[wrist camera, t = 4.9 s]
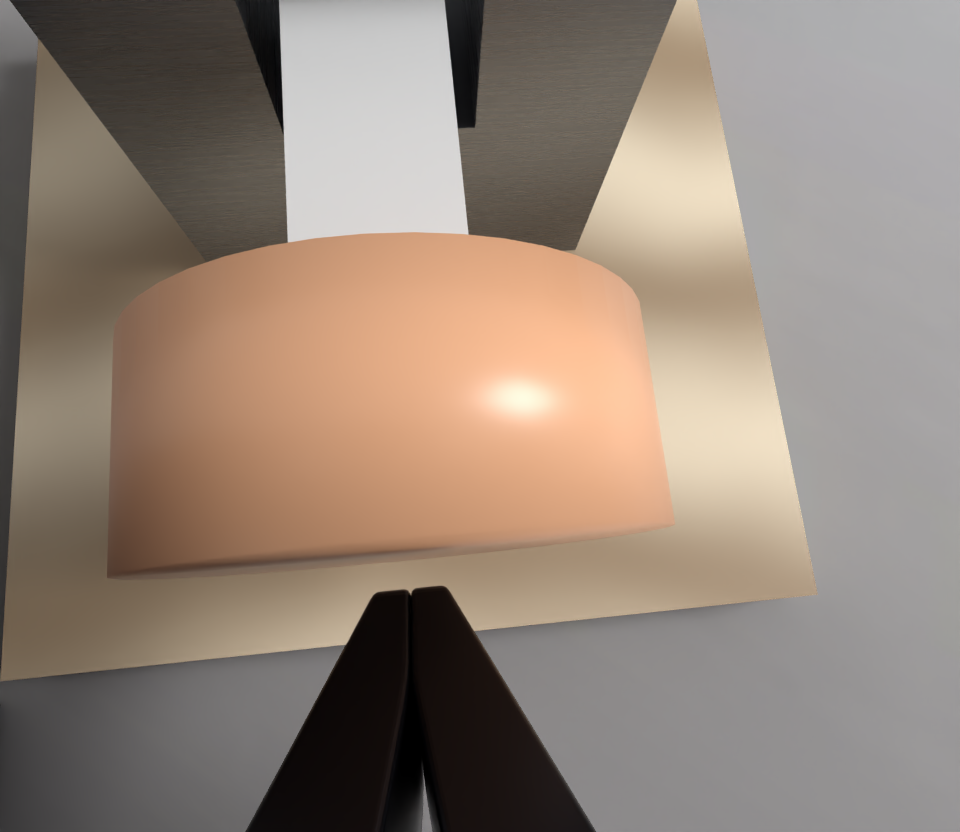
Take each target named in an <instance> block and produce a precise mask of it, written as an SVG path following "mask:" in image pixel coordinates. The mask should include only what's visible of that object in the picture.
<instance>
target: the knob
mask: <svg viewBox="0 0 960 832" xmlns="http://www.w3.org/2000/svg"><path fill="white" fill-rule="evenodd" d="M279 11H280V39H281V66H282V94H283V122H284V150H285V177H286V205H287V233H288V243H282V244H276V245H270V246H265V247H261V248H257V249H253V250H249V251H244V252H240V253H236V254H232V255H228V256H224V257H221V258H218V259H215V260H212V261H209V262H206V263H203V264H200V265H197V266H194V267H191V268H188V269H186V270H184V271H182V272H180V273H178V274H175V275H173V276H171V277H169V278H167V279H165V280H162V281H160V282H158V283H157V284H155V285H154V286H152V287H151V288H149V289H148V290H146V291H145V292H143V293H141V294H140V295H138V296H137V297H136V298H135V299H134V300H133V301H132V302H131V303H130V304H129V305H128V306H127V307H126V308H125V309H124V310H123V311H122V312H121V314H120V316H119V318H118V320H117V322H116V323H115V325H114V335H113V362H112V399H111V437H110V474H109V512H108V549H107V578H109V579H118V580H146V579H174V578H193V577H210V576H226V575H241V574H255V573H269V572H282V571H295V570H307V569H319V568H331V567H343V566H354V565H365V564H376V563H387V562H398V561H408V560H418V559H428V558H438V557H448V556H458V555H467V554H477V553H486V552H495V551H504V550H513V549H522V548H531V547H539V546H547V545H556V544H564V543H571V542H579V541H587V540H594V539H602V538H609V537H616V536H622V535H629V534H635V533H641V532H647V531H652V530H657V529H662V528H666V527H670V526H673V525H675V520H674V513H673V507H672V501H671V495H670V488H669V482H668V476H667V470H666V464H665V457H664V451H663V445H662V439H661V433H660V426H659V420H658V414H657V408H656V401H655V395H654V389H653V383H652V377H651V370H650V364H649V358H648V352H647V346H646V339H645V333H644V327H643V321H642V314H641V308H640V302H639V300H638V298H637V296H636V294H635V293H634V291H633V289H632V288H631V287H630V286H629V285H628V284H627V283H626V282H625V281H624V280H623V279H621V278H620V277H619V276H617V275H616V274H614V273H612V272H611V271H609V270H608V269H606V268H604V267H603V266H601V265H599V264H596V263H594V262H592V261H589V260H587V259H584V258H582V257H580V256H577V255H574V254H571V253H567V252H564V251H560V250H557V249H553V248H550V247H546V246H542V245H537V244H532V243H526V242H521V241H516V240H510V239H505V238H496V237H486V236H477V235H468V225H467V215H466V205H465V195H464V186H463V176H462V166H461V156H460V147H459V137H458V127H457V117H456V107H455V98H454V88H453V78H452V68H451V59H450V49H449V39H448V29H447V19H446V10H445V0H279Z"/></svg>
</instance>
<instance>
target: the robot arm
mask: <svg viewBox="0 0 960 832" xmlns="http://www.w3.org/2000/svg"><path fill="white" fill-rule="evenodd" d="M423 771H424V779H425V786H426V793H427V800H428V807H429V814H430V819H431V825H432V831H433V832H596V831H595V829H594V827H593V826H592V824H591V822H590V821H589V819H588V818H587V816H586V814H585V813H584V811H583V809H582V808H581V806H580V804H579V803H578V801H577V799H576V798H575V796H574V795H573V793H572V791H571V790H570V788H569V786H568V785H567V783H566V781H565V780H564V778H563V776H562V775H561V773H560V772H559V770H558V768H557V767H556V765H555V763H554V762H553V760H552V758H551V757H550V755H549V753H548V752H547V750H546V748H545V747H544V745H543V744H542V742H541V740H540V739H539V737H538V735H537V734H536V732H535V730H534V729H533V727H532V725H531V724H530V722H529V721H528V719H527V717H526V716H525V714H524V712H523V711H522V709H521V707H520V706H519V704H518V702H517V701H516V699H515V698H514V696H513V694H512V693H511V691H510V689H509V688H508V686H507V684H506V683H505V681H504V679H503V678H502V676H501V674H500V673H499V671H498V670H497V668H496V666H495V665H494V663H493V661H492V660H491V658H490V656H489V655H488V653H487V651H486V650H485V648H484V647H483V645H482V643H481V642H480V640H479V638H478V637H477V635H476V633H475V632H474V630H473V628H472V627H471V625H470V623H469V622H468V620H467V619H466V617H465V615H464V614H463V612H462V610H461V609H460V607H459V605H458V604H457V602H456V600H455V599H454V597H453V596H452V594H451V592H450V591H449V589H448V588H447V587H445V586H431V587H421V588H415V589H414V590H412V592H411V594H410V593H409V591H408V590H406V589H401V590H391V591H381V592H377V593H375V594H374V595H373V596H372V598H371V599H370V601H369V603H368V605H367V606H366V608H365V610H364V612H363V614H362V616H361V618H360V619H359V621H358V623H357V625H356V627H355V629H354V631H353V633H352V634H351V636H350V638H349V640H348V642H347V644H346V646H345V647H344V649H343V651H342V653H341V655H340V657H339V659H338V660H337V662H336V664H335V666H334V668H333V670H332V672H331V674H330V675H329V677H328V679H327V681H326V683H325V685H324V687H323V688H322V690H321V692H320V694H319V696H318V698H317V700H316V701H315V703H314V705H313V707H312V709H311V711H310V713H309V715H308V716H307V718H306V720H305V722H304V724H303V726H302V728H301V729H300V731H299V733H298V735H297V737H296V739H295V741H294V742H293V744H292V746H291V748H290V750H289V752H288V754H287V755H286V757H285V759H284V761H283V763H282V765H281V767H280V769H279V770H278V772H277V774H276V776H275V778H274V780H273V782H272V783H271V785H270V787H269V789H268V791H267V793H266V795H265V796H264V798H263V800H262V802H261V804H260V806H259V808H258V810H257V811H256V813H255V815H254V817H253V819H252V821H251V823H250V824H249V826H248V828H247V830H246V832H422V815H423V791H424V780H423Z"/></svg>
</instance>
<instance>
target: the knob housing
mask: <svg viewBox="0 0 960 832" xmlns="http://www.w3.org/2000/svg"><path fill="white" fill-rule="evenodd" d="M10 1H11V2H12V4H13V5H14V6H15V8H16V9H17V10H18V12H19V13H20V14H21V16H22V17H23V18H24V20H25V21H26V22H27V24H28V25H29V26H30V28H31V29H32V30H33V32H34V33H35V34H36V36H37V37H38V38H39V40H40V41H41V42H42V44H43V45H44V46H45V48H46V49H47V50H48V52H49V53H50V54H51V56H52V57H53V58H54V60H55V61H56V62H57V64H58V65H59V66H60V68H61V69H62V70H63V72H64V73H65V74H66V76H67V77H68V78H69V80H70V81H71V82H72V84H73V85H74V86H75V88H76V89H77V90H78V92H79V93H80V94H81V96H82V97H83V98H84V100H85V101H86V102H87V104H88V105H89V106H90V108H91V109H92V110H93V112H94V113H95V114H96V116H97V117H98V118H99V120H100V121H101V122H102V124H103V125H104V126H105V128H106V129H107V130H108V132H109V133H110V134H111V136H112V137H113V138H114V139H115V141H116V142H117V143H118V145H119V146H120V147H121V149H122V150H123V151H124V153H125V154H126V155H127V157H128V158H129V159H130V161H131V162H132V163H133V165H134V166H135V167H136V169H137V170H138V171H139V173H140V174H141V175H142V177H143V178H144V179H145V181H146V182H147V183H148V185H149V186H150V187H151V189H152V190H153V191H154V193H155V194H156V195H157V197H158V198H159V199H160V201H161V202H162V203H163V205H164V206H165V207H166V209H167V210H168V211H169V213H170V214H171V215H172V217H173V218H174V219H175V221H176V222H177V223H178V225H179V226H180V227H181V229H182V230H183V231H184V233H185V234H186V235H187V237H188V238H189V239H190V241H191V242H192V243H193V245H194V246H195V247H196V249H197V250H198V251H199V253H200V254H201V255H202V257H203V258H204V259H205V261H206V262H209V261H212V260H215V259H218V258H221V257H224V256H228V255H232V254H236V253H240V252H244V251H249V250H253V249H257V248H261V247H265V246H270V245H276V244H282V243H288V233H287V205H286V177H285V150H284V122H283V94H282V66H281V39H280V11H279V0H10ZM676 1H677V0H445V10H446V19H447V29H448V39H449V49H450V59H451V68H452V78H453V88H454V98H455V107H456V117H457V127H458V137H459V147H460V156H461V166H462V176H463V186H464V195H465V205H466V215H467V225H468V235H477V236H486V237H496V238H505V239H510V240H516V241H521V242H526V243H532V244H537V245H542V246H546V247H550V248H553V249H557V250H560V251H566V250H576V247H577V245H578V242H579V240H580V238H581V235H582V233H583V230H584V228H585V225H586V223H587V220H588V218H589V215H590V213H591V210H592V208H593V206H594V203H595V201H596V198H597V196H598V193H599V191H600V188H601V186H602V183H603V181H604V179H605V176H606V174H607V171H608V169H609V166H610V164H611V161H612V159H613V156H614V154H615V151H616V149H617V147H618V144H619V142H620V139H621V137H622V134H623V132H624V129H625V127H626V124H627V122H628V120H629V117H630V115H631V112H632V110H633V107H634V105H635V102H636V100H637V97H638V95H639V92H640V90H641V88H642V85H643V83H644V80H645V78H646V75H647V73H648V70H649V68H650V65H651V63H652V60H653V58H654V56H655V53H656V51H657V48H658V46H659V43H660V41H661V38H662V36H663V33H664V31H665V29H666V26H667V24H668V21H669V19H670V16H671V14H672V11H673V9H674V6H675V4H676Z"/></svg>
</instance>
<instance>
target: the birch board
mask: <svg viewBox="0 0 960 832" xmlns="http://www.w3.org/2000/svg"><path fill="white" fill-rule="evenodd" d="M564 252H567V253H571V254H574V255H577V256H580V257H582V258H584V259H587V260H589V261H592V262H594V263H596V264H599V265H601V266H603V267H604V268H606V269H608V270H609V271H611V272H612V273H614V274H616V275H617V276H619V277H620V278H621V279H623V280H624V281H625V282H626V283H627V284H628V285H629V286H630V287H631V288H632V289H633V291H634V293H635V294H636V296H637V298H638V300H639V302H640V308H641V314H642V321H643V327H644V333H645V339H646V346H647V352H648V358H649V364H650V370H651V377H652V383H653V389H654V395H655V401H656V408H657V414H658V420H659V426H660V433H661V439H662V445H663V451H664V457H665V464H666V470H667V476H668V482H669V488H670V495H671V501H672V507H673V513H674V520H675V525H673V526H670V527H666V528H662V529H657V530H652V531H647V532H641V533H635V534H629V535H622V536H616V537H609V538H602V539H594V540H587V541H579V542H571V543H564V544H556V545H547V546H539V547H531V548H522V549H513V550H504V551H495V552H486V553H477V554H467V555H458V556H448V557H438V558H428V559H418V560H408V561H398V562H387V563H376V564H365V565H354V566H343V567H331V568H319V569H307V570H295V571H282V572H269V573H255V574H241V575H226V576H210V577H193V578H174V579H146V580H118V579H109V578H107V549H108V512H109V474H110V437H111V399H112V362H113V335H114V325H115V323H116V322H117V320H118V318H119V316H120V314H121V312H122V311H123V310H124V309H125V308H126V307H127V306H128V305H129V304H130V303H131V302H132V301H133V300H134V299H135V298H136V297H137V296H138V295H140V294H141V293H143V292H145V291H146V290H148V289H149V288H151V287H152V286H154V285H155V284H157V283H158V282H160V281H162V280H165V279H167V278H169V277H171V276H173V275H175V274H178V273H180V272H182V271H184V270H186V269H188V268H191V267H194V266H197V265H200V264H203V263H206V261H205V259H204V258H203V257H202V255H201V254H200V253H199V251H198V250H197V249H196V247H195V246H194V245H193V243H192V242H191V241H190V239H189V238H188V237H187V235H186V234H185V233H184V231H183V230H182V229H181V227H180V226H179V225H178V223H177V222H176V221H175V219H174V218H173V217H172V215H171V214H170V213H169V211H168V210H167V209H166V207H165V206H164V205H163V203H162V202H161V201H160V199H159V198H158V197H157V195H156V194H155V193H154V191H153V190H152V189H151V187H150V186H149V185H148V183H147V182H146V181H145V179H144V178H143V177H142V175H141V174H140V173H139V171H138V170H137V169H136V167H135V166H134V165H133V163H132V162H131V161H130V159H129V158H128V157H127V155H126V154H125V153H124V151H123V150H122V149H121V147H120V146H119V145H118V143H117V142H116V141H115V139H114V138H113V137H112V136H111V134H110V133H109V132H108V130H107V129H106V128H105V126H104V125H103V124H102V122H101V121H100V120H99V118H98V117H97V116H96V114H95V113H94V112H93V110H92V109H91V108H90V106H89V105H88V104H87V102H86V101H85V100H84V98H83V97H82V96H81V94H80V93H79V92H78V90H77V89H76V88H75V86H74V85H73V84H72V82H71V81H70V80H69V78H68V77H67V76H66V74H65V73H64V72H63V70H62V69H61V68H60V66H59V65H58V64H57V62H56V61H55V60H54V58H53V57H52V56H51V54H50V53H49V52H48V50H47V49H46V48H45V46H44V45H43V44H42V42H41V41H40V40H39V38H38V54H37V71H36V87H35V104H34V121H33V138H32V155H31V172H30V189H29V205H28V222H27V239H26V256H25V273H24V290H23V307H22V323H21V340H20V357H19V374H18V391H17V408H16V424H15V441H14V458H13V475H12V492H11V509H10V526H9V542H8V559H7V576H6V593H5V610H4V627H3V644H2V660H1V677H0V681H9V680H18V679H28V678H37V677H46V676H56V675H65V674H75V673H84V672H93V671H103V670H112V669H122V668H131V667H140V666H150V665H159V664H169V663H178V662H187V661H197V660H206V659H216V658H225V657H235V656H244V655H253V654H263V653H272V652H282V651H291V650H300V649H310V648H319V647H329V646H338V645H346V644H347V642H348V640H349V638H350V636H351V634H352V633H353V631H354V629H355V627H356V625H357V623H358V621H359V619H360V618H361V616H362V614H363V612H364V610H365V608H366V606H367V605H368V603H369V601H370V599H371V598H372V596H373V595H374V594H375V593H377V592H381V591H391V590H401V589H406V590H408V591H409V593H410V594H411V592H412V590H414V589H415V588H421V587H431V586H445V587H447V588H448V589H449V591H450V592H451V594H452V596H453V597H454V599H455V600H456V602H457V604H458V605H459V607H460V609H461V610H462V612H463V614H464V615H465V617H466V619H467V620H468V622H469V623H470V625H471V627H472V628H473V630H474V631H479V630H489V629H498V628H507V627H517V626H526V625H536V624H545V623H555V622H564V621H573V620H583V619H592V618H602V617H611V616H620V615H630V614H639V613H649V612H658V611H667V610H677V609H686V608H696V607H705V606H714V605H724V604H733V603H743V602H752V601H762V600H771V599H780V598H790V597H799V596H809V595H818V594H817V589H816V584H815V579H814V574H813V569H812V564H811V559H810V554H809V549H808V544H807V539H806V534H805V530H804V525H803V520H802V515H801V510H800V505H799V500H798V495H797V490H796V485H795V480H794V475H793V471H792V466H791V461H790V456H789V451H788V446H787V441H786V436H785V431H784V426H783V421H782V416H781V412H780V407H779V402H778V397H777V392H776V387H775V382H774V377H773V372H772V367H771V362H770V357H769V352H768V348H767V343H766V338H765V333H764V328H763V323H762V318H761V313H760V308H759V303H758V298H757V293H756V289H755V284H754V279H753V274H752V269H751V264H750V259H749V254H748V249H747V244H746V239H745V234H744V229H743V225H742V220H741V215H740V210H739V205H738V200H737V195H736V190H735V185H734V180H733V175H732V170H731V166H730V161H729V156H728V151H727V146H726V141H725V136H724V131H723V126H722V121H721V116H720V111H719V106H718V102H717V97H716V92H715V87H714V82H713V77H712V72H711V67H710V62H709V57H708V52H707V47H706V43H705V38H704V33H703V28H702V23H701V18H700V13H699V8H698V3H697V0H677V1H676V4H675V6H674V9H673V11H672V14H671V16H670V19H669V21H668V24H667V26H666V29H665V31H664V33H663V36H662V38H661V41H660V43H659V46H658V48H657V51H656V53H655V56H654V58H653V60H652V63H651V65H650V68H649V70H648V73H647V75H646V78H645V80H644V83H643V85H642V88H641V90H640V92H639V95H638V97H637V100H636V102H635V105H634V107H633V110H632V112H631V115H630V117H629V120H628V122H627V124H626V127H625V129H624V132H623V134H622V137H621V139H620V142H619V144H618V147H617V149H616V151H615V154H614V156H613V159H612V161H611V164H610V166H609V169H608V171H607V174H606V176H605V179H604V181H603V183H602V186H601V188H600V191H599V193H598V196H597V198H596V201H595V203H594V206H593V208H592V210H591V213H590V215H589V218H588V220H587V223H586V225H585V228H584V230H583V233H582V235H581V238H580V240H579V242H578V245H577V247H576V250H566V251H564Z"/></svg>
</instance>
